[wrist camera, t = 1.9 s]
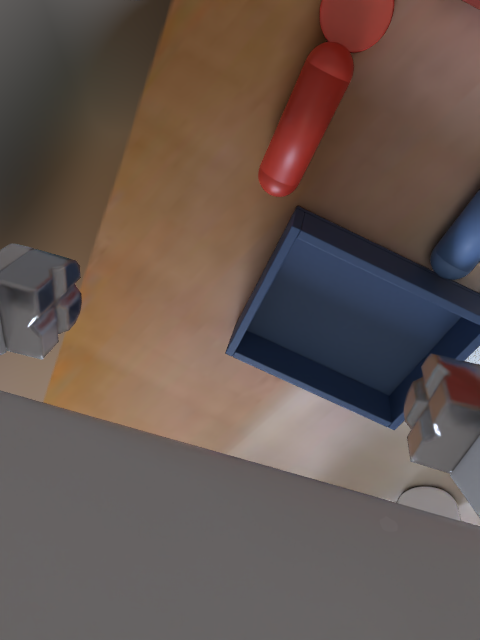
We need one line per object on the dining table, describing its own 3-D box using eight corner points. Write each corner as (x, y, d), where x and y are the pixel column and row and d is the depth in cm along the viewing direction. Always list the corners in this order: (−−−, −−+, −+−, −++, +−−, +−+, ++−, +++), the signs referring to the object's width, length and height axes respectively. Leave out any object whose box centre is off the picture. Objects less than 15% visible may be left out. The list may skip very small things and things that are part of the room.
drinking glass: (376, 488, 43) (387, 673, 31) (445, 470, 40) (489, 669, 28) (408, 527, 45) (431, 714, 33) (476, 513, 42) (529, 714, 30)
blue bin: (234, 327, 36) (224, 353, 33) (297, 205, 29) (291, 225, 26) (390, 398, 36) (394, 430, 34) (485, 296, 30) (500, 325, 27)
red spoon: (248, 174, 29) (240, 187, 26) (342, -48, 22) (341, -55, 19) (298, 199, 29) (294, 213, 27) (407, -13, 22) (414, -17, 20)
